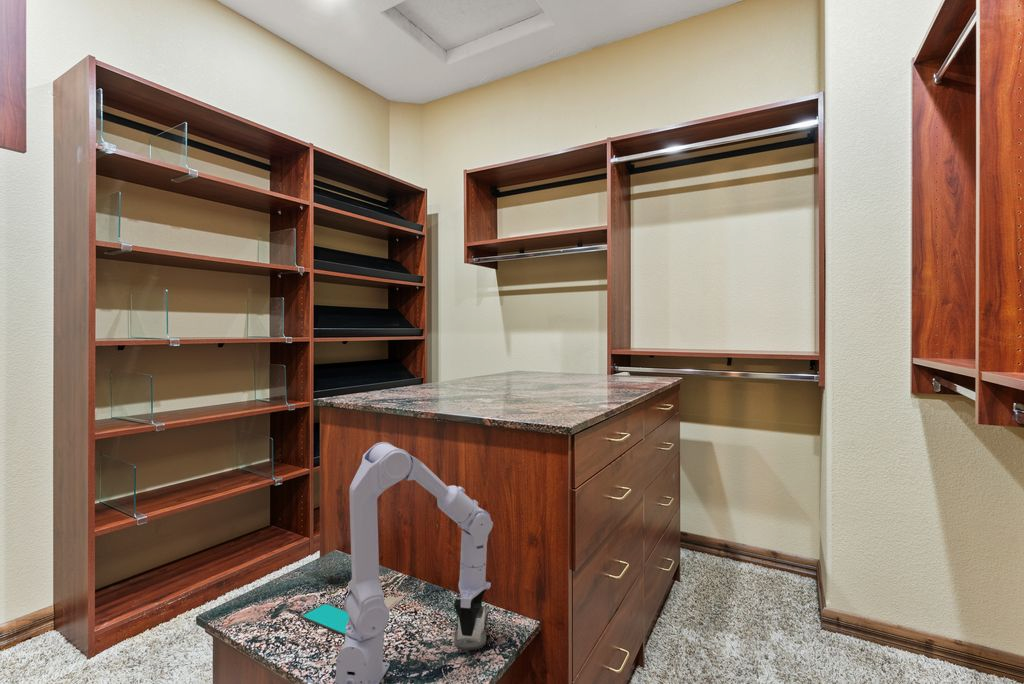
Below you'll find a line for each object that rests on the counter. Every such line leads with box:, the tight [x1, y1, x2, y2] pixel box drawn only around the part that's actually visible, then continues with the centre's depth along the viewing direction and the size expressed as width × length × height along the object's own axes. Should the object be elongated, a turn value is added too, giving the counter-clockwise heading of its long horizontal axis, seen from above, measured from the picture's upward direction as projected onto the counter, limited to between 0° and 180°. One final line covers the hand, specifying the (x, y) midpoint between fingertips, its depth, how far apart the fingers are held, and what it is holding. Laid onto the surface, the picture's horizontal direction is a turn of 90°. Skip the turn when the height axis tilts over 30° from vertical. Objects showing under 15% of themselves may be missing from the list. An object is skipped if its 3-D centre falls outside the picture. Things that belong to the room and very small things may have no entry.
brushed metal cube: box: [457, 605, 486, 642], centre depth 104 cm, size 5×5×5 cm
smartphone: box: [299, 602, 349, 638], centre depth 110 cm, size 7×1×15 cm
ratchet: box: [453, 605, 489, 651], centre depth 108 cm, size 16×7×4 cm, turn 174°
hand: (470, 625), depth 104 cm, fingers open, 7 cm apart
